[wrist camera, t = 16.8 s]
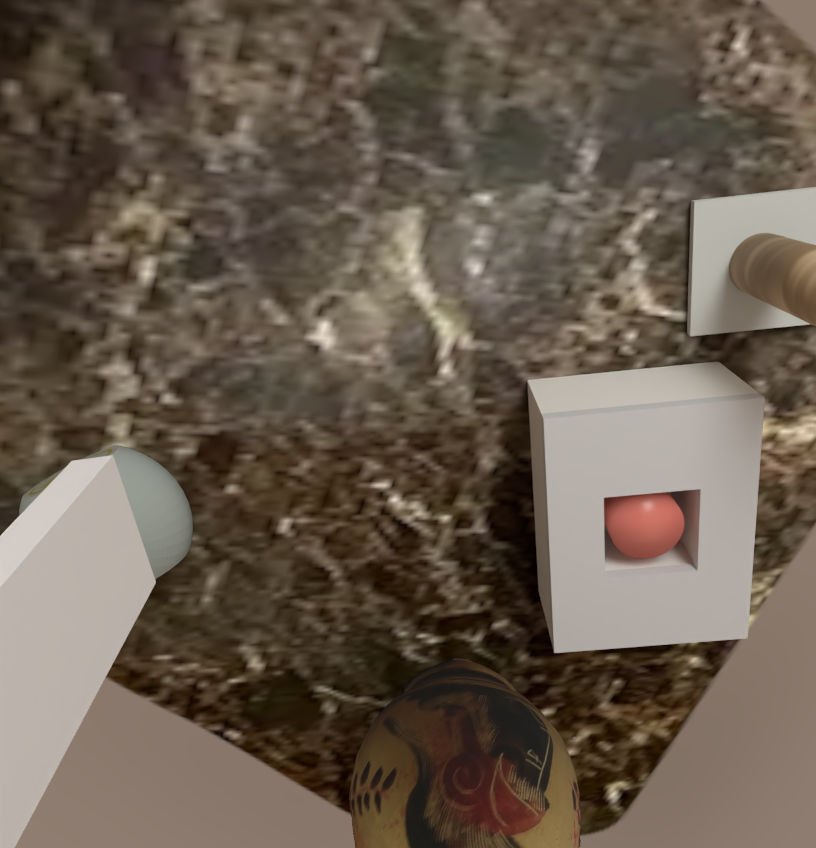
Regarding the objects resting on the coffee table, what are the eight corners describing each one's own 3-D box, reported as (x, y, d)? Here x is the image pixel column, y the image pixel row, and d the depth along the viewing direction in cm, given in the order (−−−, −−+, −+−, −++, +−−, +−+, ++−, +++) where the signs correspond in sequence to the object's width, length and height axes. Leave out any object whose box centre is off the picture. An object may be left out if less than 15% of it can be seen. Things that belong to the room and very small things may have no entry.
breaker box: (527, 380, 47) (543, 418, 41) (718, 361, 47) (764, 397, 40) (538, 590, 53) (554, 653, 47) (708, 577, 53) (747, 638, 46)
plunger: (591, 462, 48) (609, 497, 44) (659, 456, 48) (685, 491, 44) (593, 521, 50) (610, 561, 45) (658, 515, 50) (683, 555, 45)
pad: (690, 200, 43) (694, 201, 43) (831, 185, 43) (837, 186, 42) (686, 333, 46) (690, 336, 46) (818, 320, 46) (823, 323, 45)
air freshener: (94, 577, 54) (25, 671, 44) (24, 484, 51) (-64, 563, 42) (223, 519, 52) (179, 605, 42) (158, 419, 49) (96, 487, 40)
